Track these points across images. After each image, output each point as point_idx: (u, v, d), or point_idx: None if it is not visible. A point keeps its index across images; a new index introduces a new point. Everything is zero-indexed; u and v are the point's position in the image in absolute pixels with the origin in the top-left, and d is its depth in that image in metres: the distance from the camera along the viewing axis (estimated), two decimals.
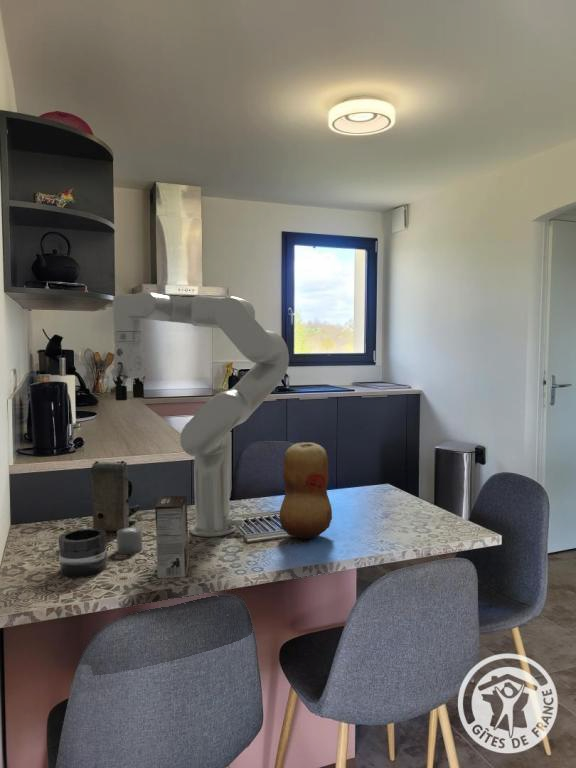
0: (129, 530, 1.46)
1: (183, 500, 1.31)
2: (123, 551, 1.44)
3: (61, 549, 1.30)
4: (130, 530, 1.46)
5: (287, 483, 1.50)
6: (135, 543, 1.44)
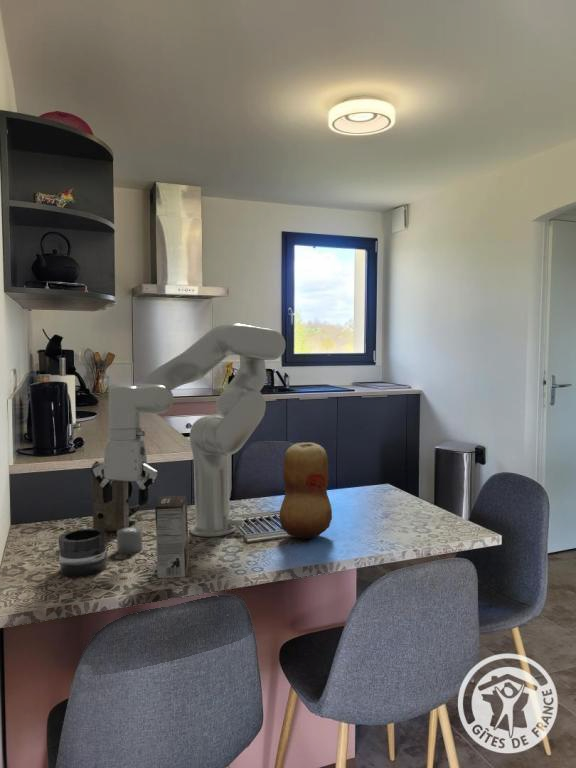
0: (129, 530, 1.46)
1: (183, 500, 1.31)
2: (123, 550, 1.44)
3: (61, 549, 1.30)
4: (130, 530, 1.46)
5: (287, 483, 1.50)
6: (135, 543, 1.44)
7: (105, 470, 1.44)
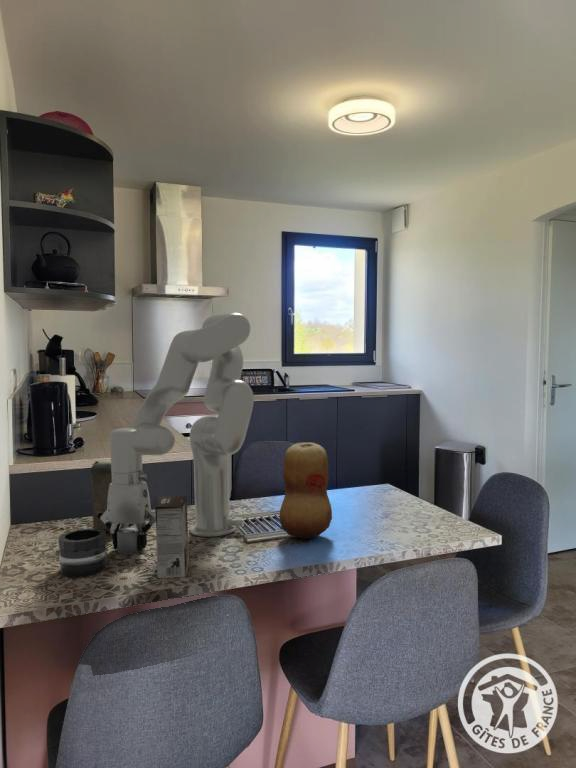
0: (129, 530, 1.46)
1: (183, 500, 1.31)
2: (123, 550, 1.44)
3: (61, 549, 1.30)
4: (130, 530, 1.46)
5: (287, 483, 1.50)
6: (135, 543, 1.44)
7: (109, 513, 1.45)
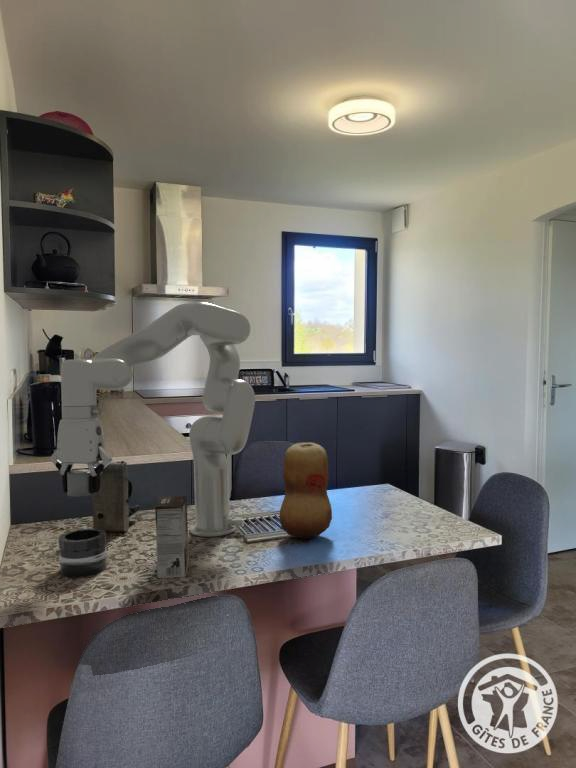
0: (81, 471, 1.33)
1: (183, 500, 1.31)
2: (73, 492, 1.30)
3: (61, 549, 1.30)
4: (82, 471, 1.33)
5: (287, 483, 1.50)
6: (87, 485, 1.31)
7: (58, 452, 1.32)
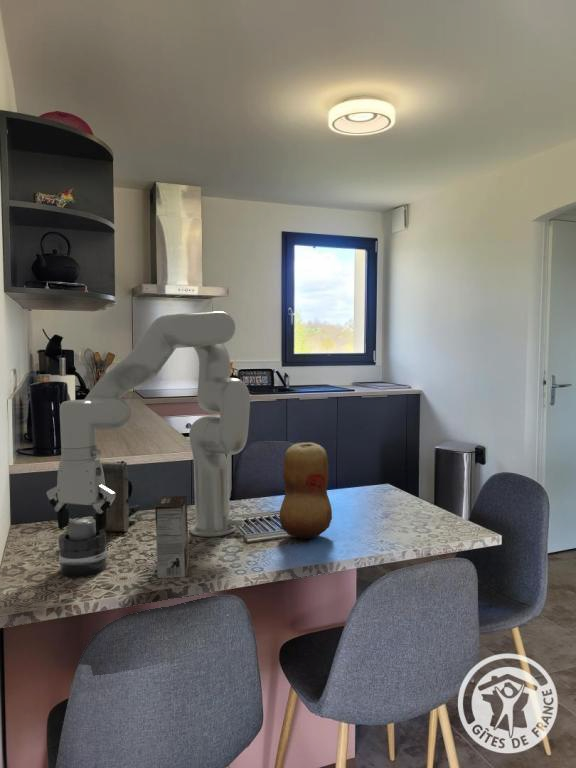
0: (81, 521, 1.33)
1: (183, 500, 1.31)
2: None
3: (61, 549, 1.30)
4: (83, 521, 1.33)
5: (287, 483, 1.50)
6: (88, 535, 1.31)
7: (58, 493, 1.32)
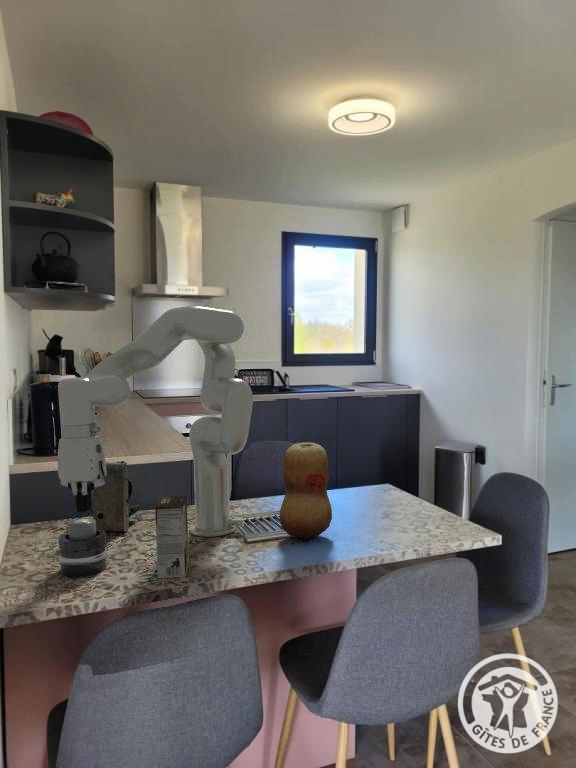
0: (81, 521, 1.33)
1: (183, 500, 1.31)
2: None
3: (61, 549, 1.30)
4: (83, 521, 1.33)
5: (287, 483, 1.49)
6: (88, 535, 1.31)
7: (59, 471, 1.32)
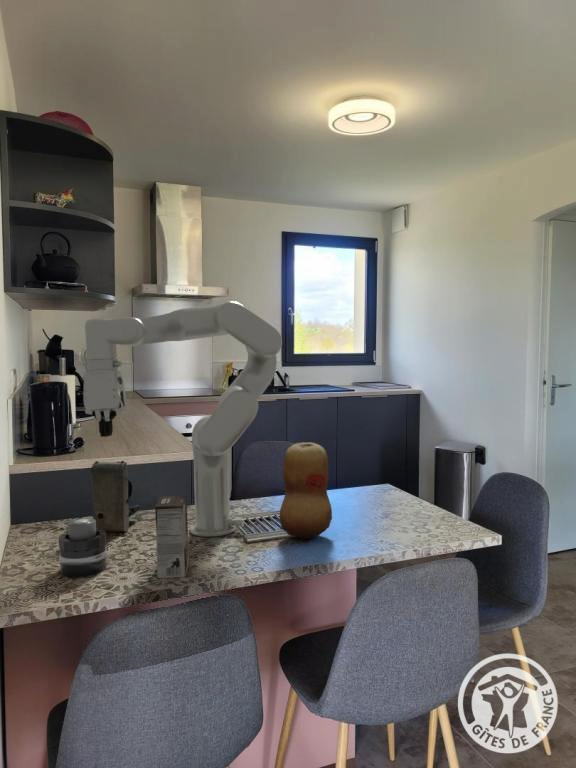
0: (82, 521, 1.33)
1: (183, 500, 1.31)
2: None
3: (61, 549, 1.30)
4: (83, 521, 1.33)
5: (287, 483, 1.50)
6: (88, 535, 1.31)
7: (85, 400, 1.51)
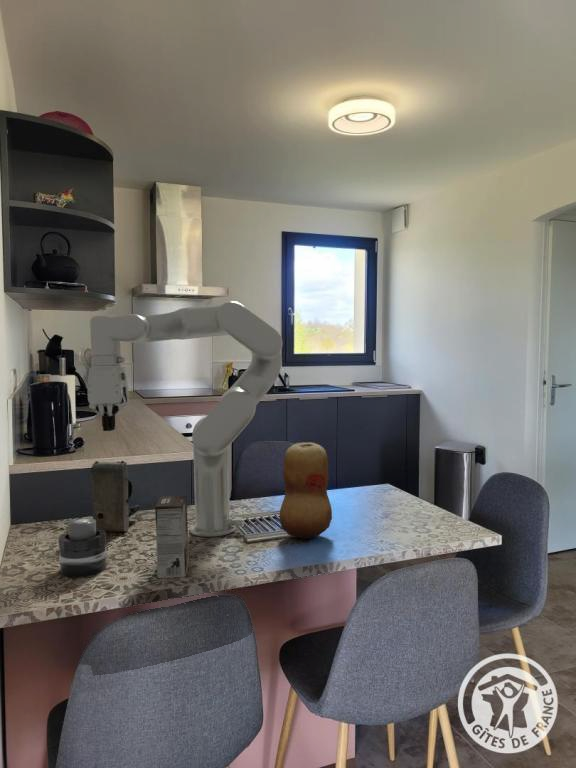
0: (82, 521, 1.33)
1: (183, 500, 1.31)
2: None
3: (61, 549, 1.30)
4: (83, 521, 1.33)
5: (287, 483, 1.50)
6: (88, 535, 1.31)
7: (89, 395, 1.55)
